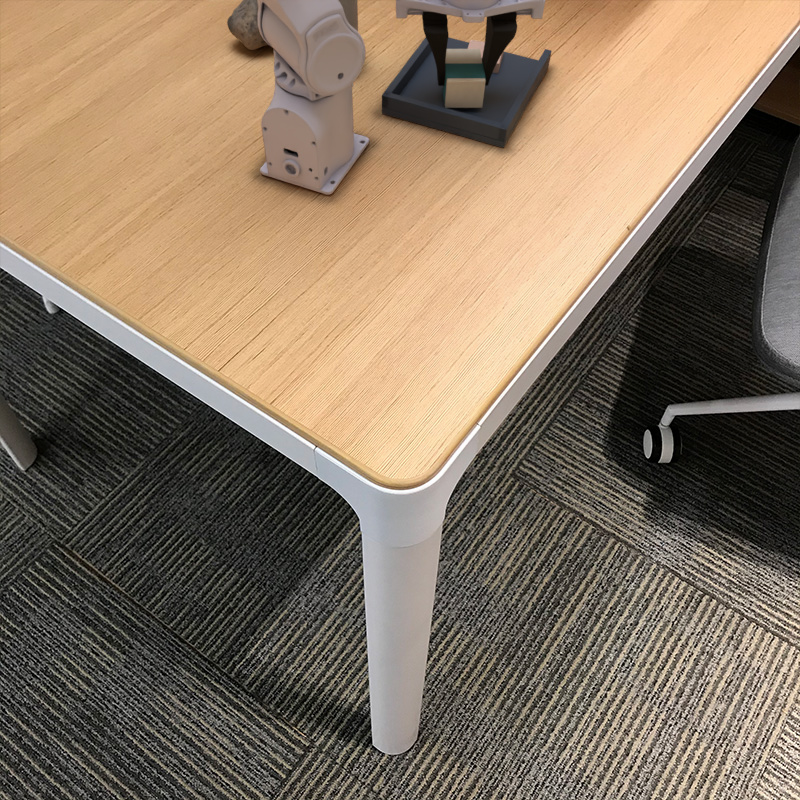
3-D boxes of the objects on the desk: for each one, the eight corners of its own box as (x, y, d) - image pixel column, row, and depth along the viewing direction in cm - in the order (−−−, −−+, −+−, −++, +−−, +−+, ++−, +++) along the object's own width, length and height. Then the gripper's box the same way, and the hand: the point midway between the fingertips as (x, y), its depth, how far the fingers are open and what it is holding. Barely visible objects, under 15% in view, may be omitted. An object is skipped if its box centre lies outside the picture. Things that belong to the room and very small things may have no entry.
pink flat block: (497, 73, 87) (499, 63, 86) (463, 68, 87) (464, 58, 86) (503, 54, 89) (504, 44, 88) (469, 49, 89) (470, 39, 88)
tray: (503, 148, 80) (506, 129, 78) (381, 113, 83) (381, 94, 81) (548, 69, 89) (551, 50, 87) (435, 40, 92) (437, 21, 90)
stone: (328, 42, 92) (292, -22, 90) (333, 28, 87) (295, -40, 85) (258, 84, 92) (220, 21, 90) (259, 73, 86) (218, 5, 84)
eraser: (477, 75, 85) (480, 48, 83) (482, 108, 82) (486, 80, 79) (440, 75, 85) (442, 48, 82) (444, 108, 82) (446, 80, 79)
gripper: (398, -33, 69) (395, 102, 80) (559, -32, 69) (534, 102, 80) (396, -70, 73) (393, 64, 84) (547, -69, 73) (525, 64, 84)
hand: (462, 80), depth 82 cm, fingers closed on eraser, 4 cm apart
